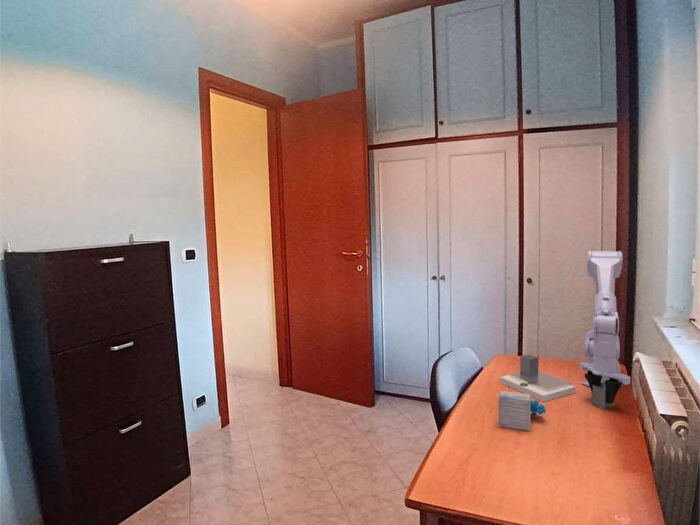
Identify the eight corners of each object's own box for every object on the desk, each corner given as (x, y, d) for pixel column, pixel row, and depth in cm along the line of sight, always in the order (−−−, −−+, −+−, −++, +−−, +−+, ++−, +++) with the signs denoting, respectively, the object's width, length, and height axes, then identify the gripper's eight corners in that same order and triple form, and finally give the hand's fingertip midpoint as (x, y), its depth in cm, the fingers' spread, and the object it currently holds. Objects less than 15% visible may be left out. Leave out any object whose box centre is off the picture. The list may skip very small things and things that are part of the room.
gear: (553, 412, 127) (536, 394, 123) (546, 432, 124) (529, 414, 120) (517, 405, 136) (500, 388, 131) (510, 424, 133) (493, 406, 129)
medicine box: (530, 424, 124) (531, 394, 123) (529, 432, 120) (530, 400, 119) (500, 420, 127) (500, 390, 126) (498, 427, 123) (498, 396, 122)
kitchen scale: (530, 375, 160) (530, 367, 160) (575, 392, 144) (575, 384, 144) (500, 382, 154) (500, 374, 154) (543, 402, 138) (543, 393, 138)
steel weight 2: (601, 401, 137) (601, 382, 137) (613, 406, 134) (614, 386, 133) (592, 404, 136) (592, 384, 135) (604, 409, 132) (605, 389, 131)
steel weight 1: (538, 375, 153) (538, 357, 152) (529, 377, 151) (529, 359, 150) (528, 371, 156) (528, 354, 156) (520, 373, 154) (520, 356, 154)
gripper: (573, 350, 138) (572, 394, 139) (619, 364, 125) (617, 412, 126) (589, 347, 141) (587, 389, 142) (635, 360, 128) (633, 406, 129)
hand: (602, 399), depth 135 cm, fingers closed on steel weight 2, 4 cm apart
